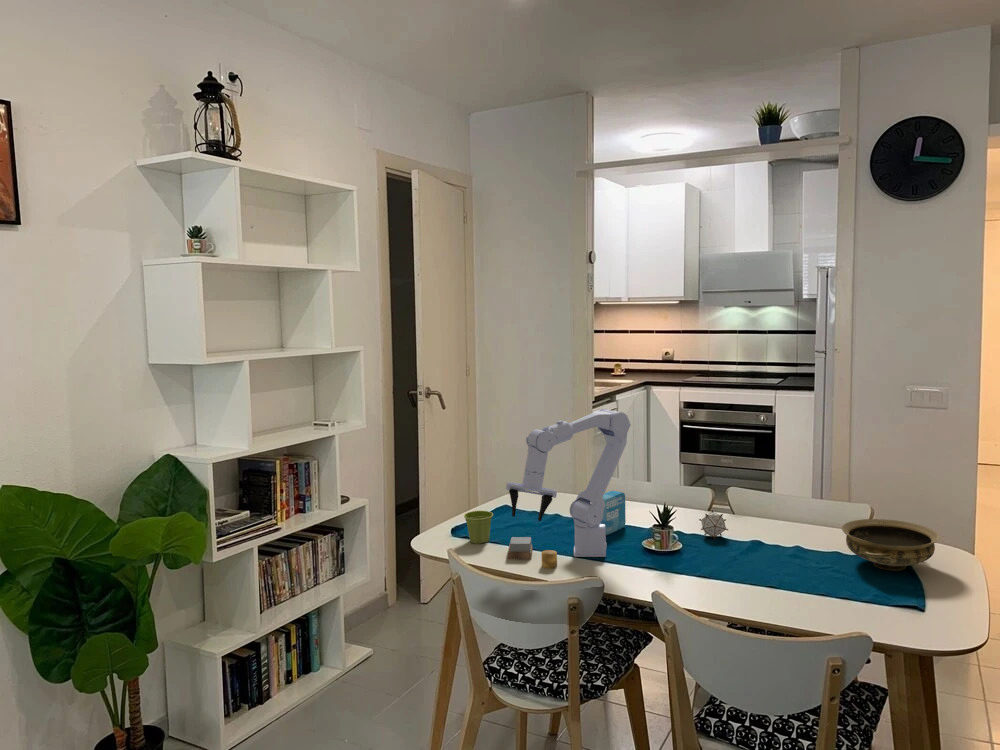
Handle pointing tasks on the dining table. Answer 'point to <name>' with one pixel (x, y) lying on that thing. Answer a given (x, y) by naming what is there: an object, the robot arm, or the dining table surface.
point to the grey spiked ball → (713, 524)
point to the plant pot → (478, 525)
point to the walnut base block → (519, 554)
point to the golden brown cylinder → (549, 559)
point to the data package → (613, 511)
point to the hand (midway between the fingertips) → (526, 518)
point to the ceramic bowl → (890, 542)
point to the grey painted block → (520, 544)
